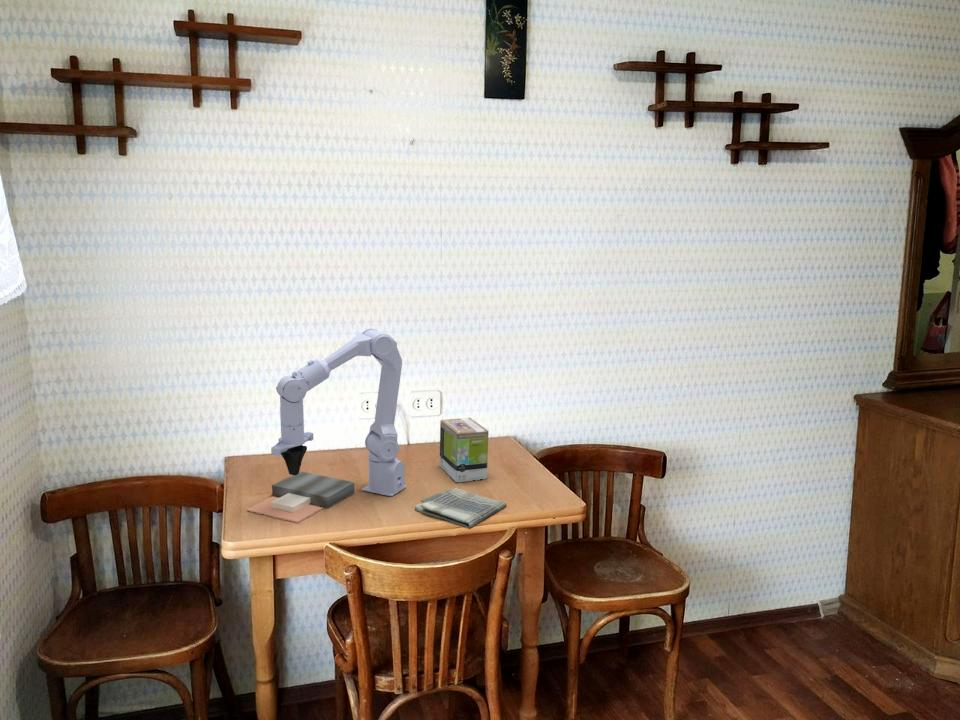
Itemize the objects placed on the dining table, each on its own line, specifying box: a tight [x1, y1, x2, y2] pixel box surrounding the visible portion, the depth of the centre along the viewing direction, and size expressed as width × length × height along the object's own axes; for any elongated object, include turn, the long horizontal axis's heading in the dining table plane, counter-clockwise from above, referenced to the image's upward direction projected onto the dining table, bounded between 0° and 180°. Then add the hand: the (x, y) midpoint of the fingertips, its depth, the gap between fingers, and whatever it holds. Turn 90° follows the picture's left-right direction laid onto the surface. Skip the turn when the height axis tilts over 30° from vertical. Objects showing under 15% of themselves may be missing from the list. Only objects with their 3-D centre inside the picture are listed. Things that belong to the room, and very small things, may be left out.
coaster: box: [271, 493, 311, 513], centre depth 198 cm, size 7×7×2 cm
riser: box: [271, 471, 356, 509], centre depth 206 cm, size 18×12×3 cm, turn 65°
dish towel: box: [414, 487, 507, 529], centre depth 200 cm, size 19×18×3 cm
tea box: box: [439, 417, 490, 483], centre depth 224 cm, size 15×10×15 cm, turn 22°
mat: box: [246, 496, 324, 524], centre depth 196 cm, size 16×10×1 cm, turn 65°
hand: (294, 474), depth 198 cm, fingers closed
